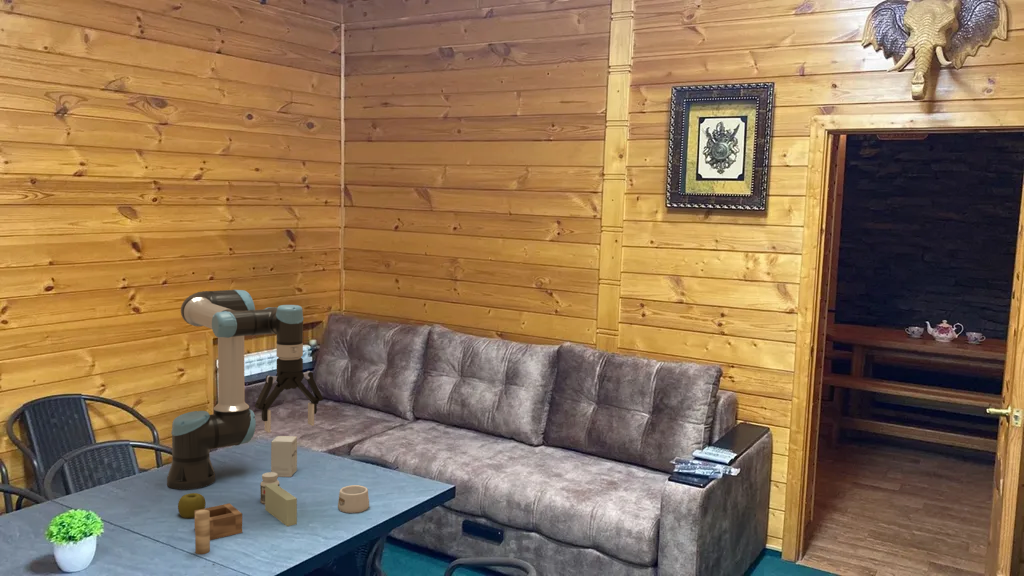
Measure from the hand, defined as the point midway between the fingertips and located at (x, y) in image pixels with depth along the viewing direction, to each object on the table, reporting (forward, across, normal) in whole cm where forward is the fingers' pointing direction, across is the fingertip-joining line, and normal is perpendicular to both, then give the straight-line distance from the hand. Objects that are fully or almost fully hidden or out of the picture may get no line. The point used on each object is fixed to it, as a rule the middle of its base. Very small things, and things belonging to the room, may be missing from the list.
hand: (289, 428), depth 237 cm
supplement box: (+28, +16, +40) cm, 52 cm away
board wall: (+28, -15, 0) cm, 32 cm away
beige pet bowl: (+28, +20, -2) cm, 35 cm away
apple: (+28, -23, +17) cm, 40 cm away
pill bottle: (+28, 0, +14) cm, 32 cm away
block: (+27, -21, 0) cm, 34 cm away
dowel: (+28, -29, -11) cm, 42 cm away
